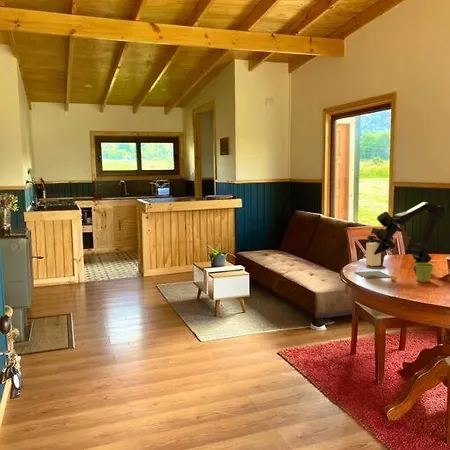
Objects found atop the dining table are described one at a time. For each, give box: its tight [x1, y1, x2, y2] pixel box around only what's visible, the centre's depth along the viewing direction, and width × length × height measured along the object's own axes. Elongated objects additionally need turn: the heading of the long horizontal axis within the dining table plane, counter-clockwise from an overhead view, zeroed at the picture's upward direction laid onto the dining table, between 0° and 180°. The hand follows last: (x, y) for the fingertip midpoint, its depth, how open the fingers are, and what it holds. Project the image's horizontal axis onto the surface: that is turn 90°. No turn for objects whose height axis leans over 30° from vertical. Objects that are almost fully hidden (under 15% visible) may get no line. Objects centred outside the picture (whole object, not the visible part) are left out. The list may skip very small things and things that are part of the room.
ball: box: [390, 274, 398, 282], centre depth 237 cm, size 3×3×3 cm
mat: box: [354, 270, 392, 280], centre depth 251 cm, size 15×15×1 cm
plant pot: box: [413, 262, 435, 283], centre depth 236 cm, size 9×9×9 cm
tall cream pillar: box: [365, 242, 381, 267], centre depth 249 cm, size 6×6×12 cm
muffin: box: [367, 251, 386, 268], centre depth 275 cm, size 12×11×10 cm
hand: (371, 253), depth 248 cm, fingers closed on tall cream pillar, 6 cm apart
